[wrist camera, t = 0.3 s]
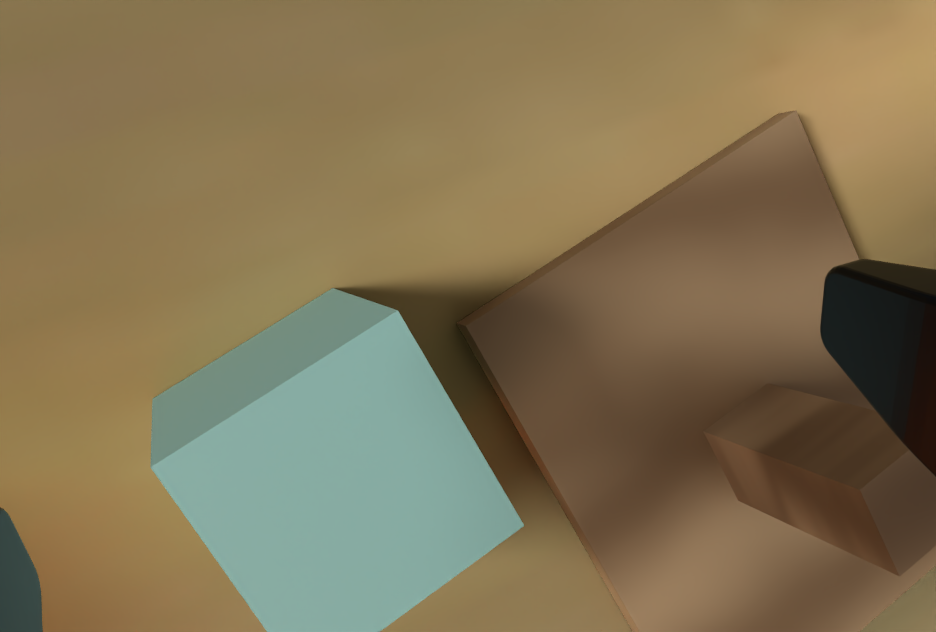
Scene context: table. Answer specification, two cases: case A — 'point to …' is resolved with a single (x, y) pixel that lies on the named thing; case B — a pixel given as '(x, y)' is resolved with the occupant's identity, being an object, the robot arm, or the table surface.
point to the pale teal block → (329, 469)
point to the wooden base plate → (713, 406)
